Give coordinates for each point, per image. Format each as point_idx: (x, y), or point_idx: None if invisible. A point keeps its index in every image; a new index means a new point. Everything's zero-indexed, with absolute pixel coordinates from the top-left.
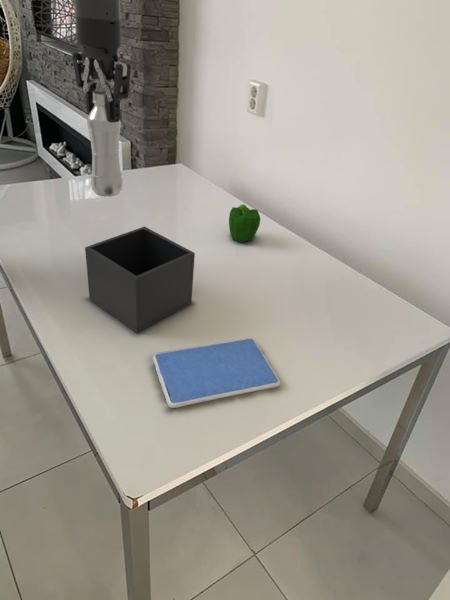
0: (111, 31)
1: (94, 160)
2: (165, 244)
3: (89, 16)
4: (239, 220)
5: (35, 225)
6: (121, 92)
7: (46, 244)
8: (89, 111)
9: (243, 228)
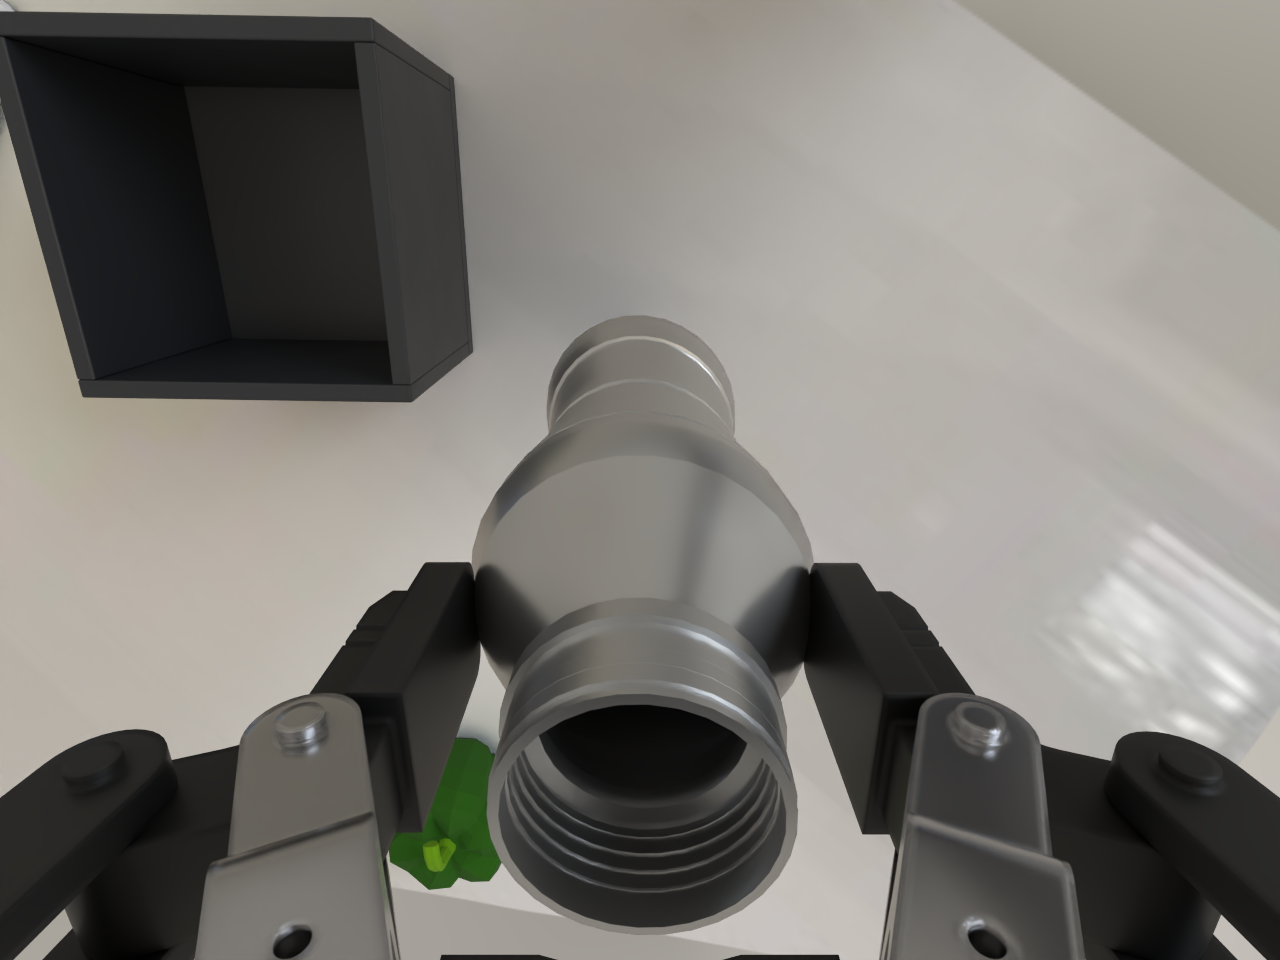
0: None
1: (645, 368)
2: (257, 377)
3: None
4: None
5: (1083, 269)
6: (69, 909)
7: (913, 206)
8: (818, 573)
9: None
